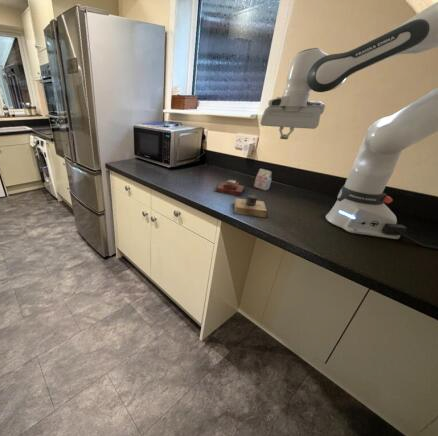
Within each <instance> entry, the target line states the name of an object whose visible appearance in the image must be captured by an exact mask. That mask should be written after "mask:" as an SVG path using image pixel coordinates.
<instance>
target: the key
mask: <svg viewBox="0 0 438 436" xmlns="http://www.w3.org/2000/svg"><path fill="white" fill-rule="evenodd" d="M227 181H228V183H227V184H229V185H235V184H236V182H237V180H235V179H234V180H233V179H228V180H227Z"/></svg>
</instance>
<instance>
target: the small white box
mask: <svg viewBox="0 0 438 436" xmlns="http://www.w3.org/2000/svg"><path fill="white" fill-rule="evenodd" d="M272 174H273V171H271V170H268V169H264V168H259V169H258V172H257V174H256V176H255V180H254V183H253V188H257V189H260V190H262V191H267V190H269V189H270V186H271V183H272V179H273V178H272V177H273V175H272Z"/></svg>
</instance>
